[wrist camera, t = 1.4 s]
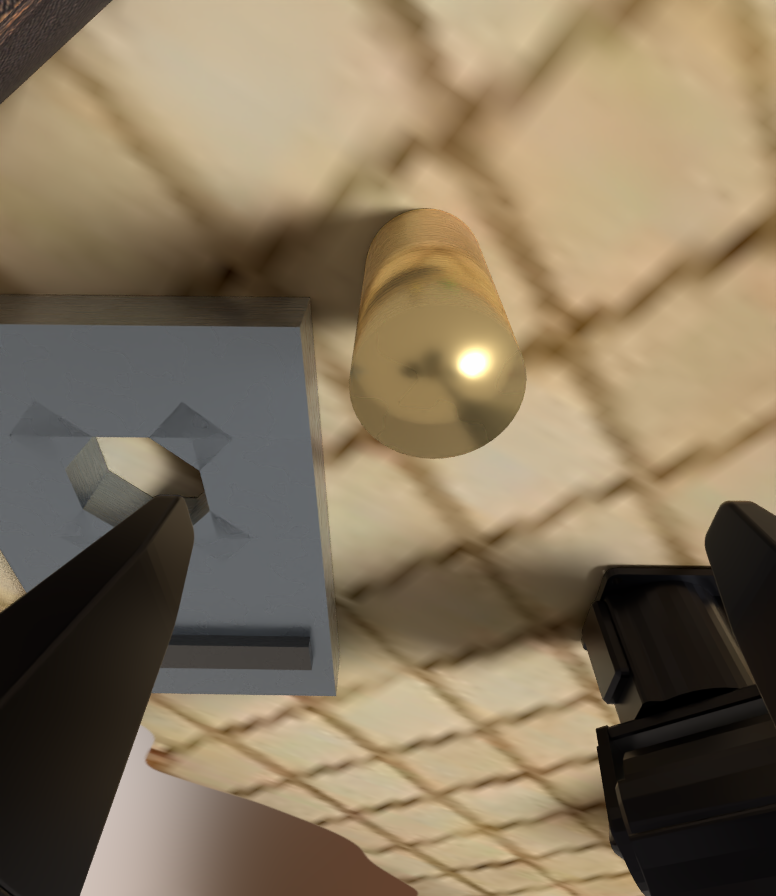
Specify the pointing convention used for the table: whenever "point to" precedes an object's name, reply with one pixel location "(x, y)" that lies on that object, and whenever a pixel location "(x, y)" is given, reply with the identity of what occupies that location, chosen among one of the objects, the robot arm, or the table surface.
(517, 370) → the cylinder
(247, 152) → the table surface
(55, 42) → the hardcover book
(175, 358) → the jig
